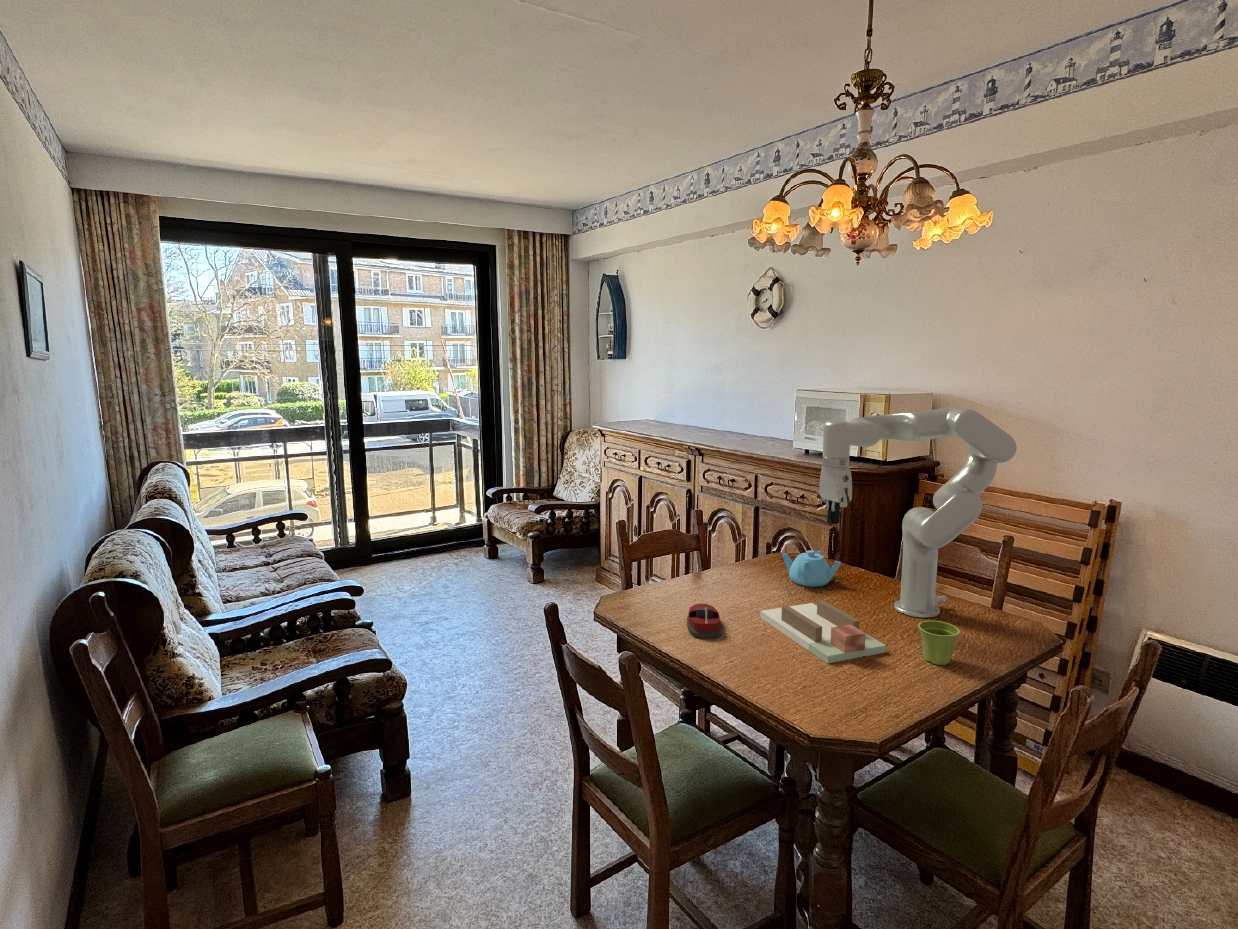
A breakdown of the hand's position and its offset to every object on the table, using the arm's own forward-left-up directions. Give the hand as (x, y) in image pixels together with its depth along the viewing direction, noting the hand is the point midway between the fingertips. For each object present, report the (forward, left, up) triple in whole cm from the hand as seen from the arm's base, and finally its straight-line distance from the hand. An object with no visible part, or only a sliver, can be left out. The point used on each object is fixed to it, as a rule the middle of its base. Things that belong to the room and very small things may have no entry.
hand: (833, 523), depth 197 cm
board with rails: (+14, +14, -27) cm, 34 cm away
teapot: (-10, -24, -27) cm, 38 cm away
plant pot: (-4, +38, -27) cm, 47 cm away
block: (+15, +27, -25) cm, 40 cm away
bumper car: (+42, -1, -28) cm, 50 cm away
